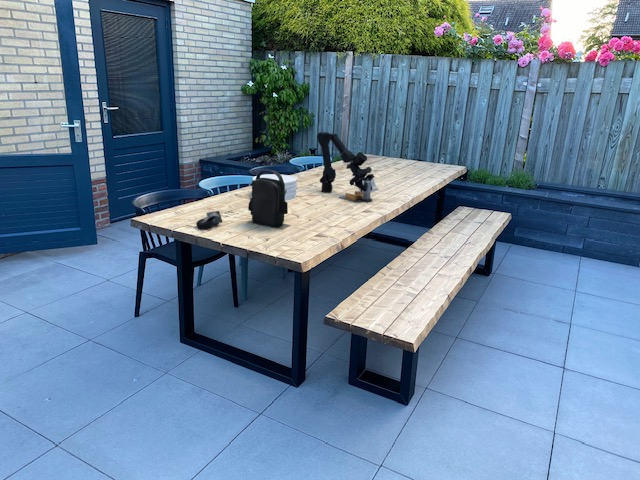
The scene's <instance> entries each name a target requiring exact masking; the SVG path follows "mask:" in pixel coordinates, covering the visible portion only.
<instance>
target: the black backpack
mask: <svg viewBox="0 0 640 480" xmlns="http://www.w3.org/2000/svg"><path fill="white" fill-rule="evenodd" d="M267 172H270V173H271V174H275V175H276V176H277V177H278V179H279V180H275V179H270V178H260V176H261V175H264V173H267ZM281 175H282V174H280V173H279V172H278V171H276V170H275V169H274V170H272V169H264V170H262V171H260V172H259V173H258V174H257V175H256V176H257V177H256V180H255V181H254V180H252V181H251V197H250V198H249V200H250V201H249V202H248V207H247V208H248V211H249V212H250V215H251V220H248V221H246V222H247V223H251V224H255V225H258V226H259V225H260V226H263V227H264V226H265V227H268V228H269V227H270V228H272V229H273V228H274V229H277V230H278V229H279V230H285V229H287V228H290V227H291V226H292V224H286V223H284V222H285V215H287V214H288V213H289V212H288V209H289V207H288V202H287V200H286V201H285V194H286V191H287V189H286V191H285V184H284V181H283V178H282V176H281Z"/></svg>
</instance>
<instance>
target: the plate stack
mask: <svg viewBox="0 0 640 480" xmlns="http://www.w3.org/2000/svg"><path fill="white" fill-rule="evenodd" d="M280 175H281V176H282V178H283V181H284V184H285V191H286V189H287V191H286V194H285V201H286V202H287V201H291V200H294V199H296V198H297V197H298V196H297V189H298V187H297V184H298V183H297V182H298V178H297V177H296V176H293V175H288V174H280ZM256 177H257V175H256V176H253V177H252V181H253V180H254V181H255V180H256ZM260 178H270V179H275V180H279V179H278V177H277V176H276V175H275V174H274V173H271V174H269V173H268V174H262V175H261V176H260Z"/></svg>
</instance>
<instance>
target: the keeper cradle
mask: <svg viewBox="0 0 640 480" xmlns="http://www.w3.org/2000/svg"><path fill="white" fill-rule="evenodd" d="M338 198H339V199H343V200H346V201H350V202H359V201H361V199H362V198H363V192H360V190H354V193H349V192H345V195H341V196H338Z"/></svg>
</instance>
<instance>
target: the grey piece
mask: <svg viewBox="0 0 640 480" xmlns="http://www.w3.org/2000/svg"><path fill="white" fill-rule="evenodd" d="M364 187H365V189H366V192H365V191H363V198H362V199H361V200H360V201H361V203H371V202H373V198H371V193H372V192H371V181H370V180H364Z"/></svg>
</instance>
